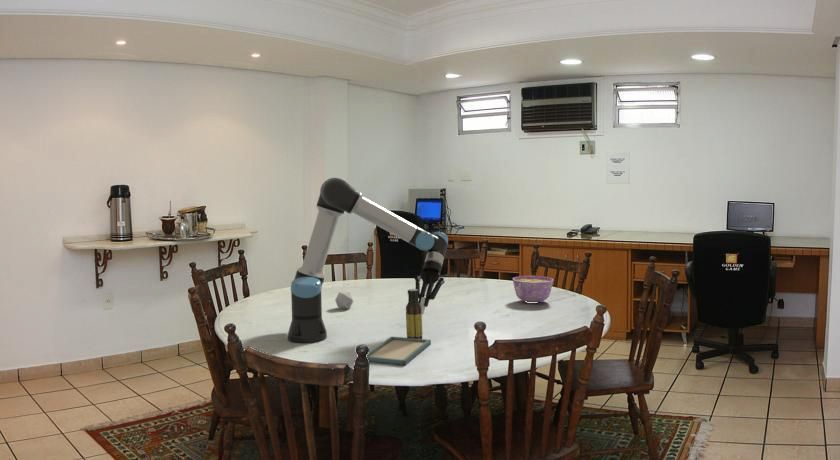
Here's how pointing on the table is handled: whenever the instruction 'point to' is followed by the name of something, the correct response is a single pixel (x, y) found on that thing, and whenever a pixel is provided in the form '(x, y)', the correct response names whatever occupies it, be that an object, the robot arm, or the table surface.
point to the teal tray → (397, 350)
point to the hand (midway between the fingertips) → (420, 312)
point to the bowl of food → (532, 288)
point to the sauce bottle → (413, 315)
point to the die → (344, 300)
